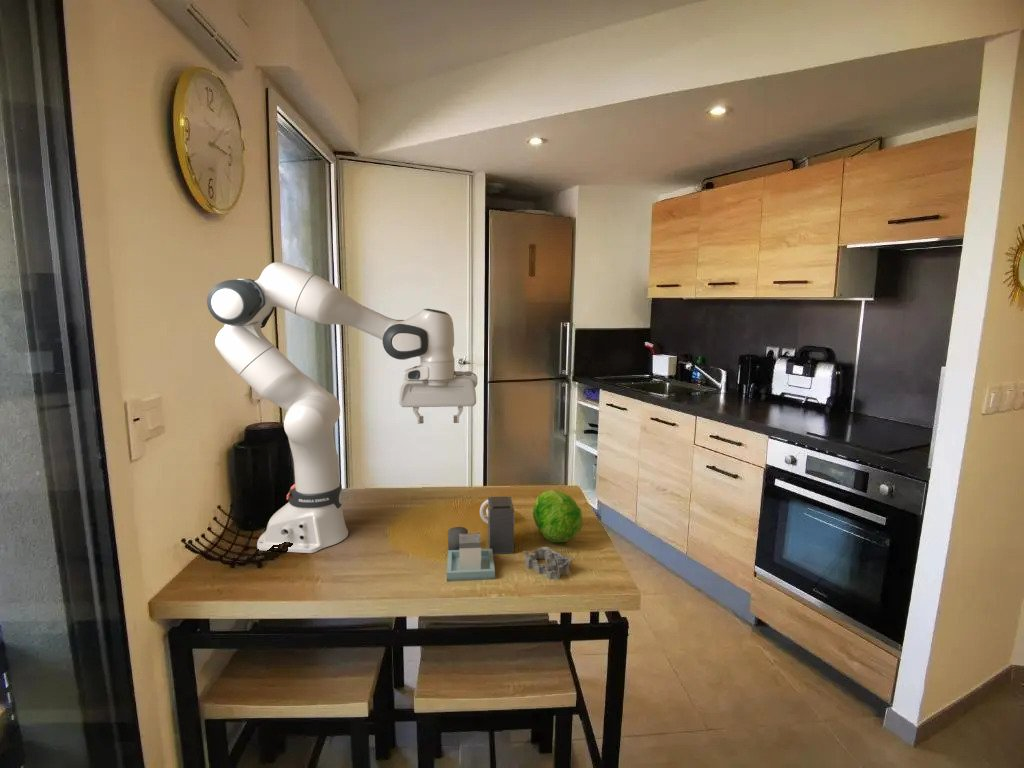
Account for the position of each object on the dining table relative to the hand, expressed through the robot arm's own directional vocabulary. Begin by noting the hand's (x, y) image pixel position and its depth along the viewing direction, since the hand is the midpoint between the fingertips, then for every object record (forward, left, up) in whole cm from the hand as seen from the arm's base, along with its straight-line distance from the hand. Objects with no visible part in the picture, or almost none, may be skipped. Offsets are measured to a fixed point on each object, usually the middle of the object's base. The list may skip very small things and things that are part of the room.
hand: (438, 422), depth 139 cm
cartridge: (+8, -20, -30) cm, 37 cm away
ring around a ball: (+15, +3, -31) cm, 35 cm away
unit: (+16, -9, -31) cm, 36 cm away
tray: (+8, -20, -31) cm, 38 cm away
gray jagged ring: (+26, -22, -32) cm, 46 cm away
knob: (+5, -10, -31) cm, 33 cm away
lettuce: (+32, -4, -31) cm, 45 cm away
